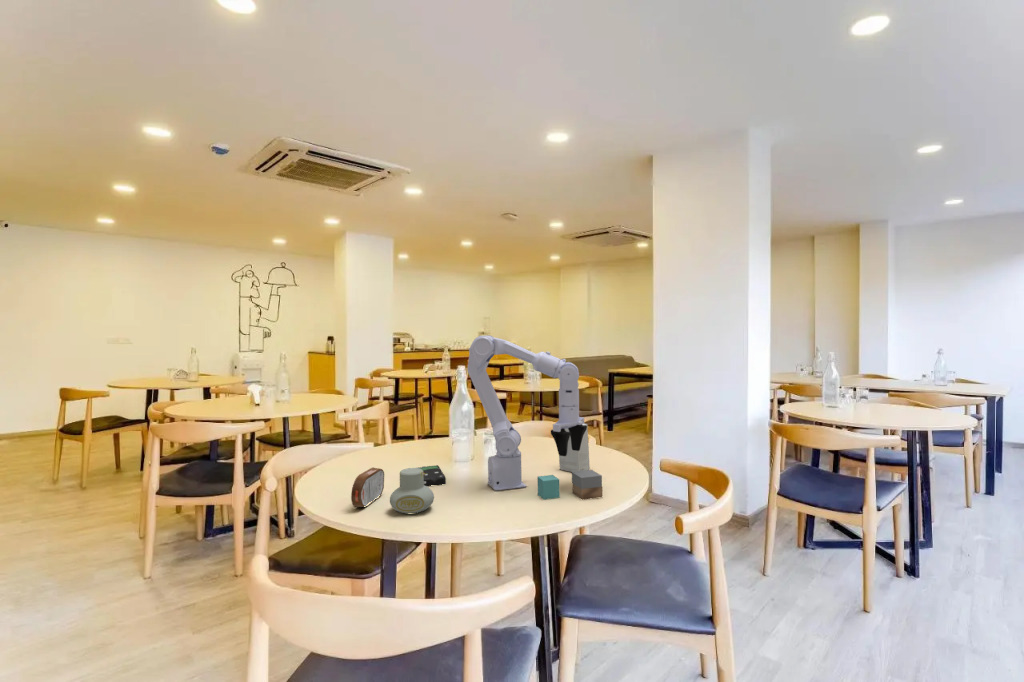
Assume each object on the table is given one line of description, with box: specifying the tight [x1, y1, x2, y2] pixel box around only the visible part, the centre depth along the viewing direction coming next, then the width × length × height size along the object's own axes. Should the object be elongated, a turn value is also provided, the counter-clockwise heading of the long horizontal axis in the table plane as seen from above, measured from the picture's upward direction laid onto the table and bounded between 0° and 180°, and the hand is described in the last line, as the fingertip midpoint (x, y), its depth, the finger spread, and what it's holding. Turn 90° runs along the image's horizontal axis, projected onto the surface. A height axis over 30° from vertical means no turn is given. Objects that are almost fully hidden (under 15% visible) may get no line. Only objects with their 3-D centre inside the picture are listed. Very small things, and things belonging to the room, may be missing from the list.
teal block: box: [537, 474, 561, 501], centre depth 136 cm, size 4×4×5 cm
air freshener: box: [389, 467, 435, 514], centre depth 127 cm, size 11×8×10 cm
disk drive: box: [417, 464, 447, 487], centre depth 154 cm, size 10×3×15 cm
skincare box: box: [558, 423, 591, 473], centre depth 161 cm, size 8×6×15 cm
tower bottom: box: [571, 482, 603, 501], centre depth 137 cm, size 6×6×3 cm
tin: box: [350, 467, 385, 508], centre depth 134 cm, size 15×3×8 cm, turn 170°
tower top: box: [571, 469, 603, 489], centre depth 137 cm, size 6×6×3 cm
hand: (569, 452), depth 144 cm, fingers open, 7 cm apart
